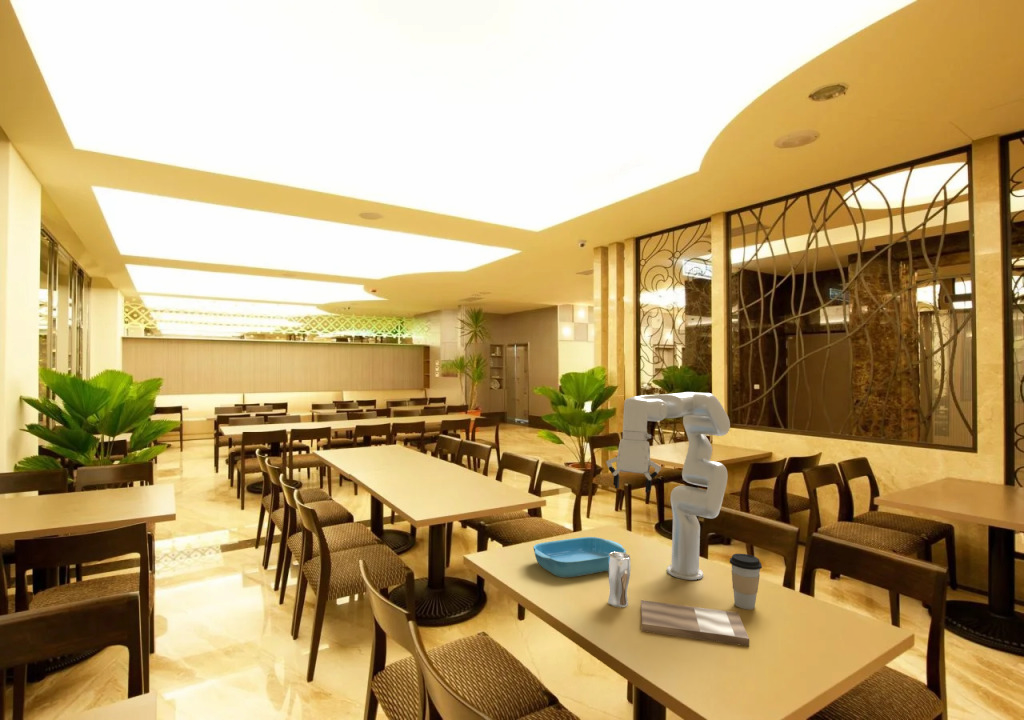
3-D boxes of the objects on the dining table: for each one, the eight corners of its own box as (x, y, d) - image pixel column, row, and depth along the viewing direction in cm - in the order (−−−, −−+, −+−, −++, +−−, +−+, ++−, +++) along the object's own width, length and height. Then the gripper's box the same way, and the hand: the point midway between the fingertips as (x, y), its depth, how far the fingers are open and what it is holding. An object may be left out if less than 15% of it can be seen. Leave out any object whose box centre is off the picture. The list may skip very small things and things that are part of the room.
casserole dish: (599, 550, 215) (599, 532, 215) (637, 569, 195) (638, 550, 195) (521, 563, 197) (521, 544, 197) (554, 586, 177) (555, 564, 177)
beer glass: (629, 609, 161) (631, 560, 161) (606, 606, 162) (608, 557, 163) (629, 600, 168) (630, 552, 168) (606, 597, 169) (608, 550, 169)
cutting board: (641, 606, 163) (641, 599, 163) (737, 619, 157) (737, 612, 157) (641, 630, 148) (642, 623, 148) (749, 646, 142) (749, 638, 142)
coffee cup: (760, 602, 169) (761, 555, 170) (761, 614, 161) (762, 565, 161) (729, 596, 173) (730, 550, 173) (727, 607, 165) (728, 559, 165)
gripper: (663, 438, 170) (661, 491, 169) (610, 433, 176) (607, 484, 176) (660, 440, 163) (658, 495, 162) (605, 434, 170) (602, 488, 169)
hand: (631, 490), depth 169 cm, fingers open, 9 cm apart
